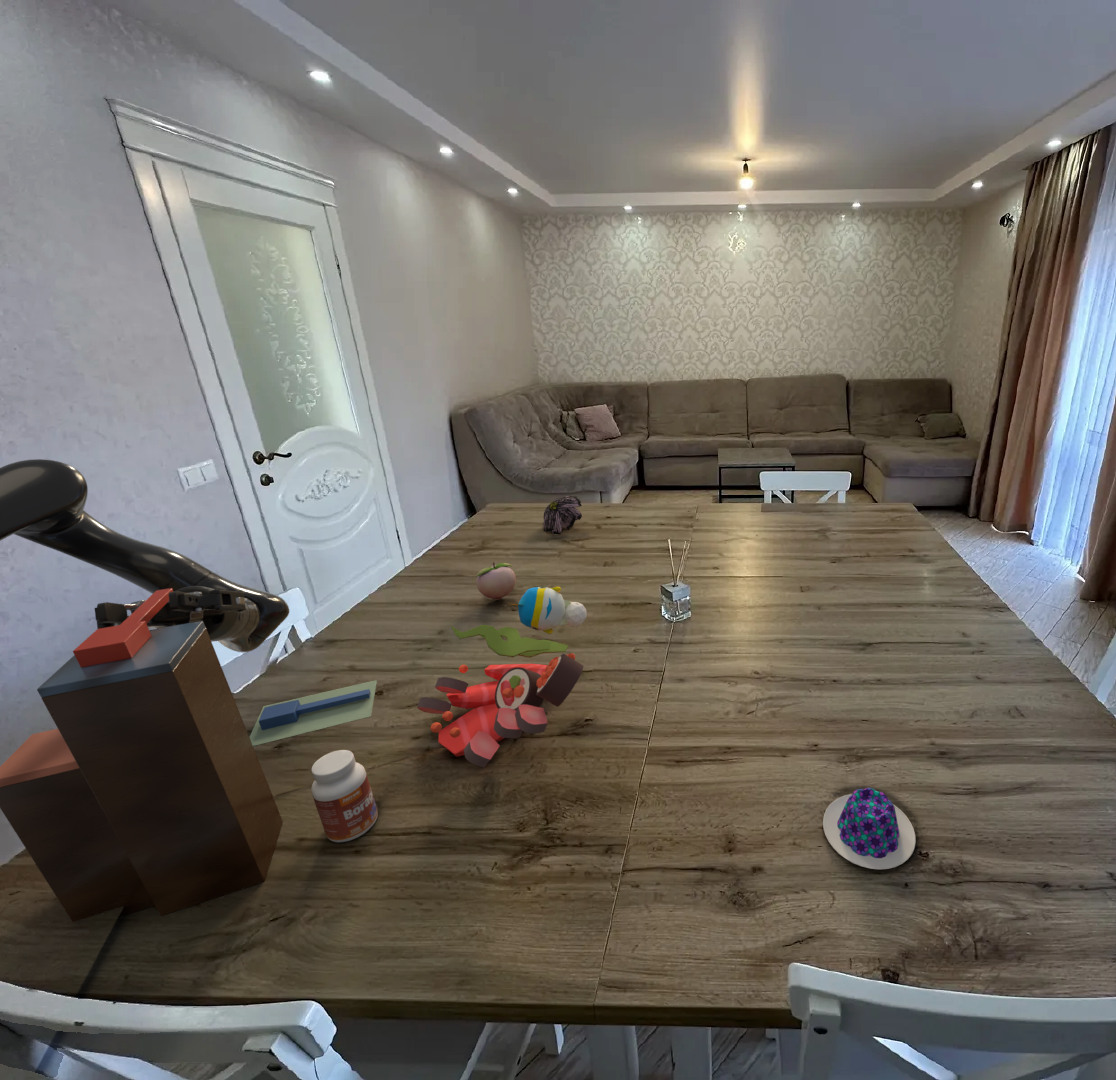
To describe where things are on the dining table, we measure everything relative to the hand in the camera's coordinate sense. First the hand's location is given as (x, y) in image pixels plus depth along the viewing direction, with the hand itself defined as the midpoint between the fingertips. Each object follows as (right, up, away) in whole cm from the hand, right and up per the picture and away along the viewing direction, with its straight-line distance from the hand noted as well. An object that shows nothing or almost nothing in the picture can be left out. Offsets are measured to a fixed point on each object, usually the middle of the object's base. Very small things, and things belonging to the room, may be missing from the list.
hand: (138, 606), depth 65 cm
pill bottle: (+17, -32, +12) cm, 38 cm away
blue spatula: (-4, -23, +35) cm, 42 cm away
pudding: (+88, -32, +10) cm, 94 cm away
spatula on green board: (-4, -23, +35) cm, 42 cm away
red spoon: (+1, -2, 0) cm, 3 cm away
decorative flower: (+15, +12, +123) cm, 125 cm away
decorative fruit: (+13, -7, +75) cm, 77 cm away
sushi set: (+31, -23, +35) cm, 52 cm away
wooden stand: (+1, -35, +5) cm, 35 cm away
